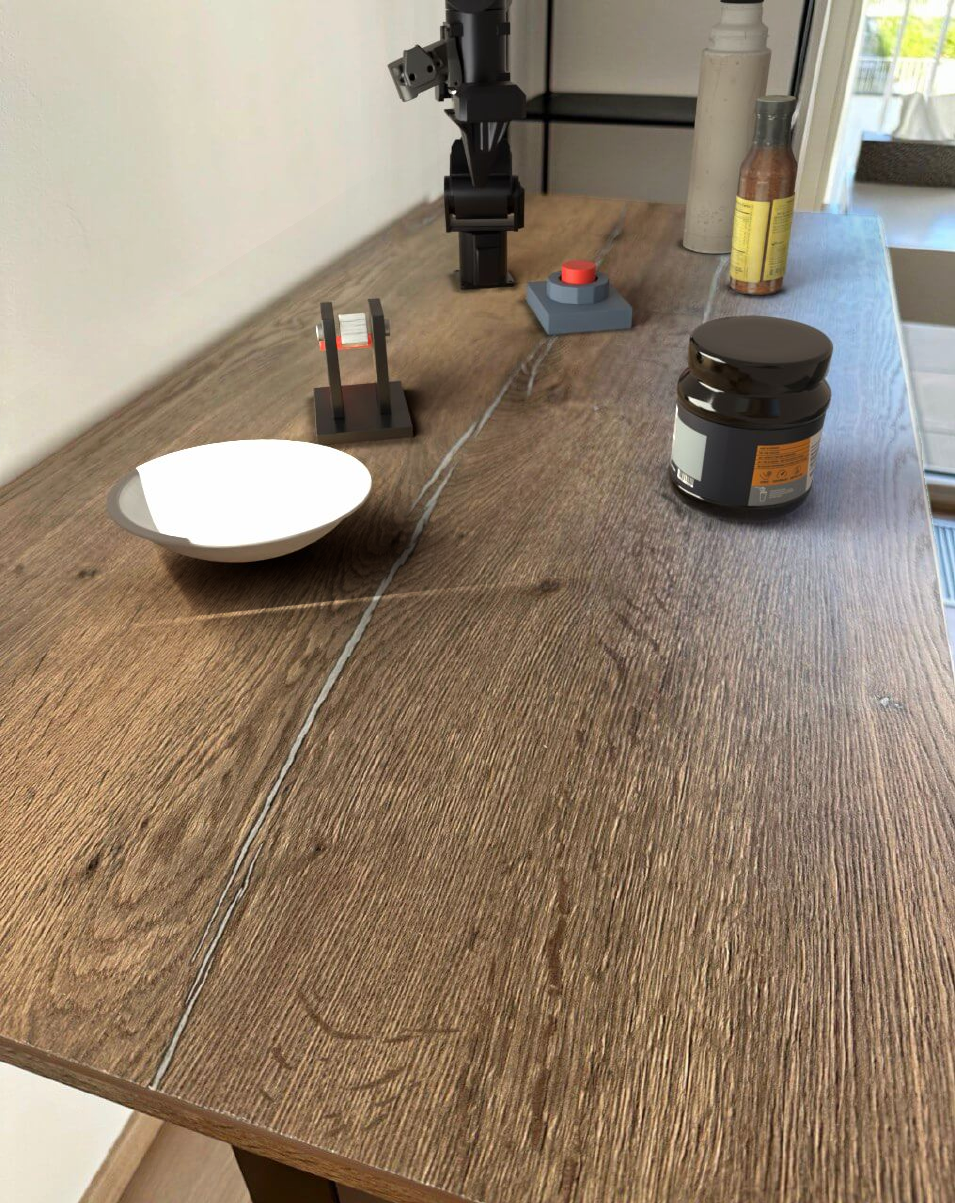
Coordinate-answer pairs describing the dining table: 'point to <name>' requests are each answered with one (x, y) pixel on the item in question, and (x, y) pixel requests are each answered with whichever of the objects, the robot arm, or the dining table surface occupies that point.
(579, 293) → the button box
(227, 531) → the dish
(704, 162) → the thermos bottle
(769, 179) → the sauce bottle
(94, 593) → the dining table surface
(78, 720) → the dining table surface
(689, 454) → the supplement container
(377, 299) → the bracket
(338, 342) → the lever
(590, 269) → the button
